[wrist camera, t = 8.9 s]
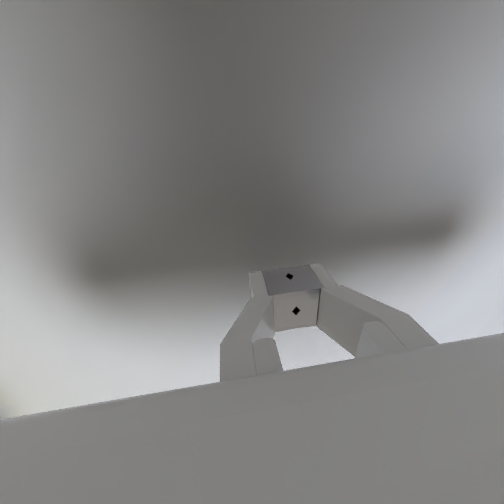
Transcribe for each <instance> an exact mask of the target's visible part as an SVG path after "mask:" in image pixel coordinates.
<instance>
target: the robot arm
mask: <svg viewBox="0 0 504 504" xmlns="http://www.w3.org/2000/svg"><path fill="white" fill-rule="evenodd" d="M249 281H250V291H251V299H250V300H249V302H248V303H247V305H246V306H245V308H244V309H243V311H242V312H241V314H240V315H239V317H238V318H237V320H236V321H235V323H234V324H233V326H232V327H231V329H230V330H229V332H228V333H227V335H226V336H225V338H224V339H223V341H222V342H221V344H220V382H216V383H210V384H204V385H199V386H193V387H187V388H181V389H175V390H169V391H164V392H158V393H152V394H146V395H140V396H135V397H129V398H123V399H117V400H111V401H106V402H100V403H94V404H88V405H82V406H77V407H71V408H65V409H59V410H53V411H48V412H42V413H36V414H30V415H24V416H19V417H13V418H7V419H1V420H0V504H504V333H501V334H495V335H489V336H483V337H477V338H472V339H466V340H460V341H454V342H448V343H443V344H439V343H438V342H437V341H435V340H434V339H433V338H432V337H431V336H430V335H429V334H428V333H427V332H426V331H425V330H424V329H423V328H422V327H421V326H420V325H419V324H418V323H417V322H416V321H415V320H414V319H413V318H412V317H411V316H410V315H408V314H406V313H404V312H401V311H399V310H397V309H395V308H392V307H390V306H388V305H385V304H383V303H381V302H379V301H376V300H374V299H372V298H370V297H367V296H365V295H363V294H361V293H358V292H356V291H354V290H351V289H349V288H347V287H345V286H338V284H337V283H336V282H335V281H334V279H333V278H332V277H331V276H330V274H329V273H328V272H327V271H326V269H325V268H324V267H323V266H322V264H320V263H315V264H310V265H305V266H298V267H291V268H282V269H273V270H265V271H256V272H249ZM316 325H317V327H318V328H319V329H321V330H322V331H323V332H324V333H326V334H327V335H328V336H329V337H331V338H332V339H333V340H334V341H336V342H337V343H338V344H339V345H341V346H342V347H343V348H345V349H346V350H347V351H348V352H350V353H351V354H352V355H353V356H355V359H350V360H344V361H338V362H332V363H326V364H321V365H315V366H309V367H303V368H297V369H292V370H286V371H283V368H282V364H281V361H280V357H279V354H278V350H277V346H276V343H275V340H273V337H274V334H275V332H277V331H283V330H288V329H294V328H301V327H308V326H316Z"/></svg>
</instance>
